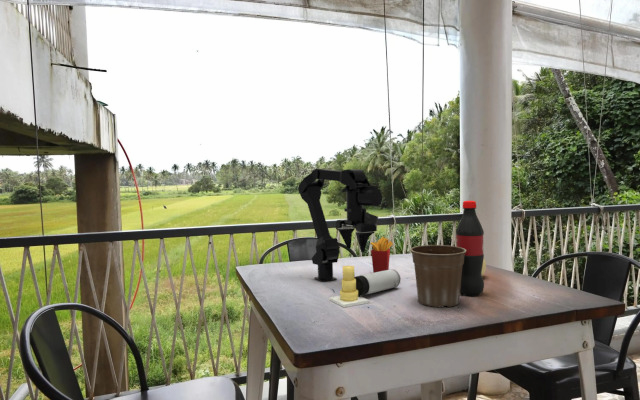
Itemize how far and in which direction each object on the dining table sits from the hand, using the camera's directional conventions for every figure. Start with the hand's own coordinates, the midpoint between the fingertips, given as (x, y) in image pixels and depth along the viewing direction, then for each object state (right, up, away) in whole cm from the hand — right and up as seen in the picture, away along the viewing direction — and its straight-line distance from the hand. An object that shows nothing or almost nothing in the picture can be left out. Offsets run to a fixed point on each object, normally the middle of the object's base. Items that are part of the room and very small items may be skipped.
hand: (355, 250), depth 146 cm
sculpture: (+44, -12, +12) cm, 47 cm away
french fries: (+13, -12, +20) cm, 27 cm away
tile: (-3, -14, -17) cm, 22 cm away
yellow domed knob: (-4, -13, -17) cm, 22 cm away
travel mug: (+13, -10, -1) cm, 16 cm away
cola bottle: (+36, -13, -11) cm, 40 cm away
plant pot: (+23, -14, -19) cm, 33 cm away
